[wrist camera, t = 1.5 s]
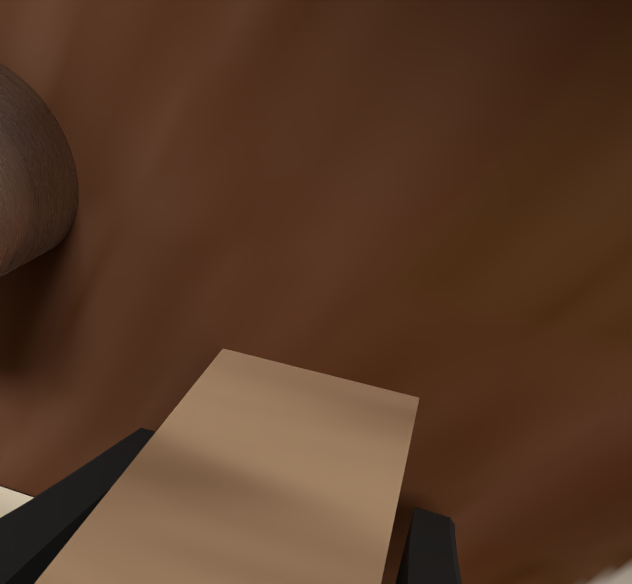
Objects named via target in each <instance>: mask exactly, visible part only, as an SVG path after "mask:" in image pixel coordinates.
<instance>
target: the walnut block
mask: <svg viewBox="0 0 632 584" xmlns="http://www.w3.org/2000/svg"><path fill="white" fill-rule="evenodd" d="M418 402H419V398H418V397H414V396H410V395H406V394H402V393H398V392H394V391H390V390H386V389H382V388H378V387H374V386H370V385H366V384H362V383H358V382H354V381H350V380H346V379H342V378H338V377H334V376H330V375H326V374H322V373H318V372H314V371H310V370H306V369H302V368H298V367H294V366H290V365H286V364H282V363H278V362H274V361H270V360H266V359H262V358H258V357H254V356H250V355H246V354H242V353H238V352H235V351H231V350H227V349H222V350H221V352H220V353H219V354H218V355H217V357H216V358H215V359H214V360H213V362H212V363H211V364H210V365H209V367H208V368H207V369H206V370H205V372H204V373H203V374H202V375H201V377H200V378H199V379H198V380H197V382H196V383H195V384H194V385H193V387H192V388H191V389H190V390H189V392H188V393H187V394H186V395H185V396H184V398H183V399H182V400H181V401H180V403H179V404H178V405H177V406H176V408H175V409H174V410H173V411H172V413H171V414H170V415H169V416H168V418H167V419H166V420H165V421H164V423H163V424H162V425H161V426H160V428H159V429H158V430H157V431H156V433H155V434H154V435H153V436H152V438H151V439H150V440H149V441H148V443H147V444H146V445H145V446H144V448H143V449H142V450H141V451H140V453H139V454H138V455H137V456H136V458H135V459H134V460H133V461H132V463H131V464H130V465H129V466H128V468H127V469H126V470H125V471H124V473H123V474H122V475H121V476H120V478H119V479H118V480H117V481H116V482H115V484H114V485H113V486H112V487H111V489H110V490H109V491H108V492H107V494H106V495H105V496H104V497H103V499H102V500H101V501H100V502H99V504H98V505H97V506H96V507H95V509H94V510H93V511H92V512H91V514H90V515H89V516H88V517H87V519H86V520H85V521H84V522H83V524H82V525H81V526H80V527H79V529H78V530H77V531H76V532H75V534H74V535H73V536H72V537H71V539H70V540H69V541H68V542H67V544H66V545H65V546H64V547H63V549H62V550H61V551H60V552H59V554H58V555H57V556H56V557H55V559H54V560H53V561H52V562H51V563H50V565H49V566H48V567H47V568H46V570H45V571H44V572H43V573H42V575H41V576H40V577H39V578H38V580H37V581H36V582H35V583H34V584H381V581H382V576H383V571H384V566H385V561H386V557H387V552H388V547H389V542H390V537H391V532H392V528H393V523H394V518H395V513H396V508H397V503H398V499H399V494H400V489H401V484H402V479H403V475H404V470H405V465H406V460H407V455H408V450H409V446H410V441H411V436H412V431H413V426H414V421H415V417H416V412H417V407H418Z"/></svg>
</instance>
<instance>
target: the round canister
mask: <svg viewBox="0 0 632 584" xmlns="http://www.w3.org/2000/svg"><path fill="white" fill-rule="evenodd" d="M77 204H78V179H77V173H76V168H75V163H74V160H73V156H72V153H71V150H70V147H69V145H68V142H67V140H66V137H65V135H64V133H63V131H62V129H61V127H60V125H59V123H58V122H57V120H56V119H55V117H54V115H53V114H52V112H51V111H50V109H49V108H48V107H47V105H46V104H45V103H44V101H43V100H42V99H41V97H40V96H39V95H38V94H37V93H36V92H35V91H34V90H33V89H32V88H31V87H30V86H29V85H28V84H27V83H26V82H25V81H24V80H23V79H21V78H20V77H19V76H18V75H17V74H15V73H14V72H12V71H11V70H10V69H8V68H7V67H5V66H4V65H2V64H0V277H2V276H3V275H5V274H7V273H9V272H11V271H13V270H14V269H16V268H18V267H20V266H22V265H24V264H25V263H27V262H29V261H31V260H33V259H34V258H36V257H38V256H40V255H42V254H44V253H45V252H47V251H49V250H51V249H53V248H54V247H55V246H56V245H58V244H59V243H60V242H61V241H62V240H63V238H64V237H65V236H66V235H67V233H68V231H69V230H70V228H71V226H72V223H73V221H74V218H75V214H76V209H77Z"/></svg>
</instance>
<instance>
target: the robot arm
mask: <svg viewBox="0 0 632 584" xmlns="http://www.w3.org/2000/svg"><path fill="white" fill-rule="evenodd" d="M155 433H156V432H154V431H151V430H147V429H144V428H140V429H139V430H137V431H135V432H134V433H132V434H131V435H129V436H128V437H126V438H125V439H123V440H122V441H120V442H119V443H117V444H116V445H114V446H113V447H111V448H110V449H108V450H107V451H105V452H104V453H102V454H101V455H99V456H98V457H96V458H95V459H93V460H92V461H90V462H89V463H87V464H85V465H84V466H82V467H81V468H79V469H78V470H76V471H75V472H73V473H72V474H70V475H69V476H67V477H66V478H64V479H62V480H61V481H59V482H58V483H56V484H55V485H53V486H52V487H50V488H48V489H47V490H45V491H44V492H42V493H41V494H39V495H37V496H36V497H34V498H33V499H31V500H29V501H28V502H26V503H25V504H23V505H21V506H20V507H18V508H16V509H14V510H13V511H11V512H9V513H8V514H6V515H4V516H3V517H1V518H0V584H34V583H35V582H36V581H37V580H38V578H39V577H40V576H41V575H42V573H43V572H44V571H45V570H46V568H47V567H48V566H49V565H50V563H51V562H52V561H53V560H54V559H55V557H56V556H57V555H58V554H59V552H60V551H61V550H62V549H63V547H64V546H65V545H66V544H67V542H68V541H69V540H70V539H71V537H72V536H73V535H74V534H75V532H76V531H77V530H78V529H79V527H80V526H81V525H82V524H83V522H84V521H85V520H86V519H87V517H88V516H89V515H90V514H91V512H92V511H93V510H94V509H95V507H96V506H97V505H98V504H99V502H100V501H101V500H102V499H103V497H104V496H105V495H106V494H107V492H108V491H109V490H110V489H111V487H112V486H113V485H114V484H115V482H116V481H117V480H118V479H119V478H120V476H121V475H122V474H123V473H124V471H125V470H126V469H127V468H128V466H129V465H130V464H131V463H132V461H133V460H134V459H135V458H136V456H137V455H138V454H139V453H140V451H141V450H142V449H143V448H144V446H145V445H146V444H147V443H148V441H149V440H150V439H151V438H152V436H153V435H154V434H155ZM396 584H462V582H461V576H460V570H459V564H458V557H457V549H456V539H455V524H454V523H453V521H452V520H451V519H450V517H446V516H443V515H440V514H436V513H433V512H429V511H426V510H422V509H419V508H414V512H413V516H412V520H411V524H410V528H409V532H408V536H407V540H406V544H405V548H404V552H403V556H402V560H401V564H400V568H399V572H398V575H397V579H396Z"/></svg>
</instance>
